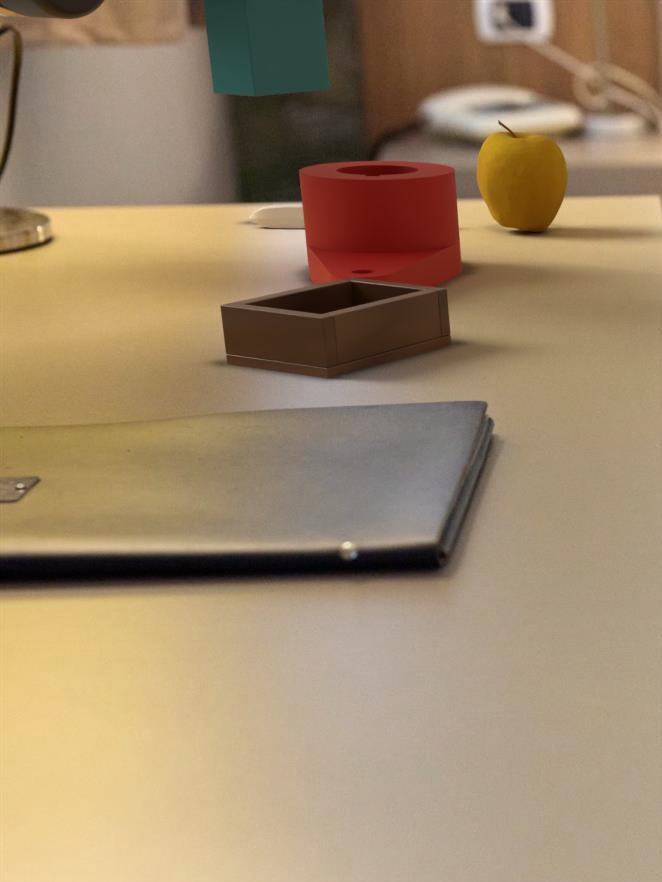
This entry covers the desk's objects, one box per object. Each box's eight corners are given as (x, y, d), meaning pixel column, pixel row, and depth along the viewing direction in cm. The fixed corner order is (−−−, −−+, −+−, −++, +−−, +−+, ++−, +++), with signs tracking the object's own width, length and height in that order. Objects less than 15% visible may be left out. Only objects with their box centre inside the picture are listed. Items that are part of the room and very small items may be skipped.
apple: (462, 230, 144) (454, 118, 141) (535, 222, 148) (529, 114, 145) (513, 241, 140) (506, 126, 137) (586, 233, 144) (581, 121, 141)
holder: (328, 383, 98) (322, 318, 96) (227, 369, 100) (219, 304, 99) (452, 349, 106) (447, 288, 105) (355, 336, 108) (350, 276, 107)
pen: (444, 229, 144) (442, 206, 143) (247, 228, 142) (244, 205, 141) (447, 226, 145) (445, 203, 145) (252, 225, 143) (249, 202, 143)
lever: (320, 263, 129) (310, 160, 127) (467, 262, 131) (459, 161, 128) (277, 316, 113) (264, 199, 110) (445, 314, 114) (436, 199, 112)
